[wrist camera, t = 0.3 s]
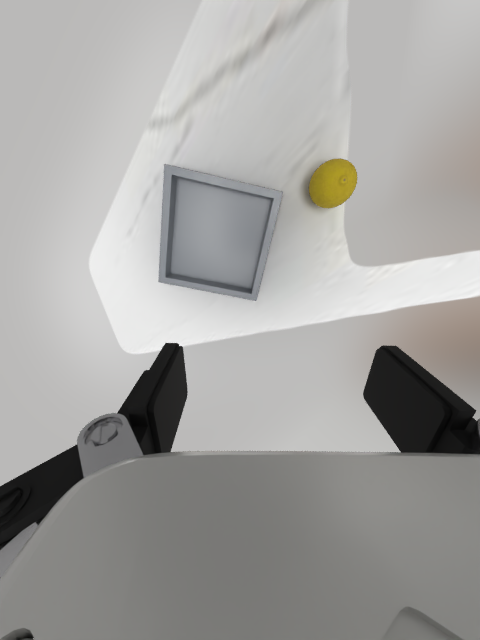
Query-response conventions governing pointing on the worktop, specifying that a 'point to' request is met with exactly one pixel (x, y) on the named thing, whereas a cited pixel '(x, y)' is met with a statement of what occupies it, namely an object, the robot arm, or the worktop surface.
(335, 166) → the lemon
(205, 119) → the worktop surface
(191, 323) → the worktop surface
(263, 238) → the tray
